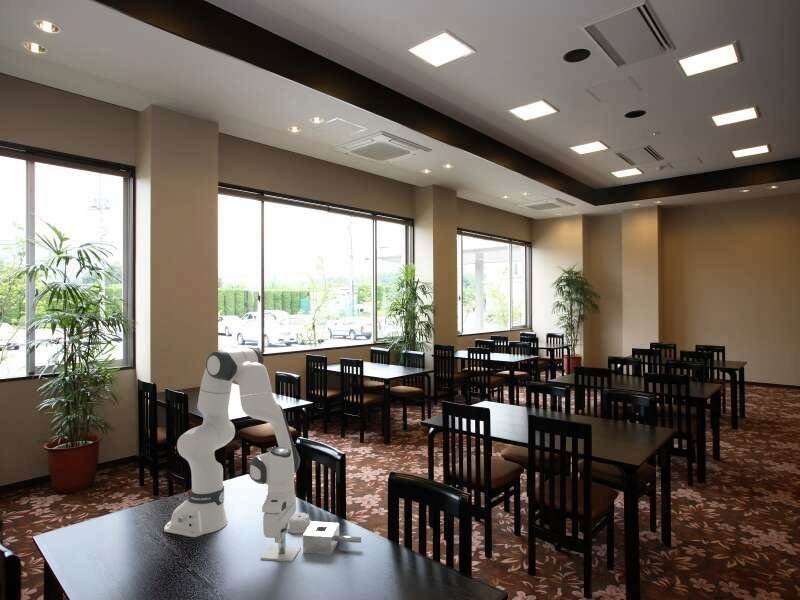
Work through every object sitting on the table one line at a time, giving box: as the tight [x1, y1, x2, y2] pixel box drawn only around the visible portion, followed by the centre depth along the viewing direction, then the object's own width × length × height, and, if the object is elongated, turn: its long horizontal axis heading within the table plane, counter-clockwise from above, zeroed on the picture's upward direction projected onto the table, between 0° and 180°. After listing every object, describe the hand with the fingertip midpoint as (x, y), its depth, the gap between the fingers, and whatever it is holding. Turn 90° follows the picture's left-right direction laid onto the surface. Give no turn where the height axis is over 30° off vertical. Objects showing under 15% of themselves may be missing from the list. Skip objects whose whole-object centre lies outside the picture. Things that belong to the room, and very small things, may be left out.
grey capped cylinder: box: [277, 525, 287, 554], centre depth 160 cm, size 3×3×9 cm
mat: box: [260, 544, 302, 563], centre depth 160 cm, size 11×8×1 cm
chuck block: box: [302, 520, 362, 555], centre depth 164 cm, size 19×10×6 cm, turn 82°
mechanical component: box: [287, 512, 312, 534], centre depth 179 cm, size 10×4×10 cm
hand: (281, 537), depth 160 cm, fingers open, 4 cm apart
